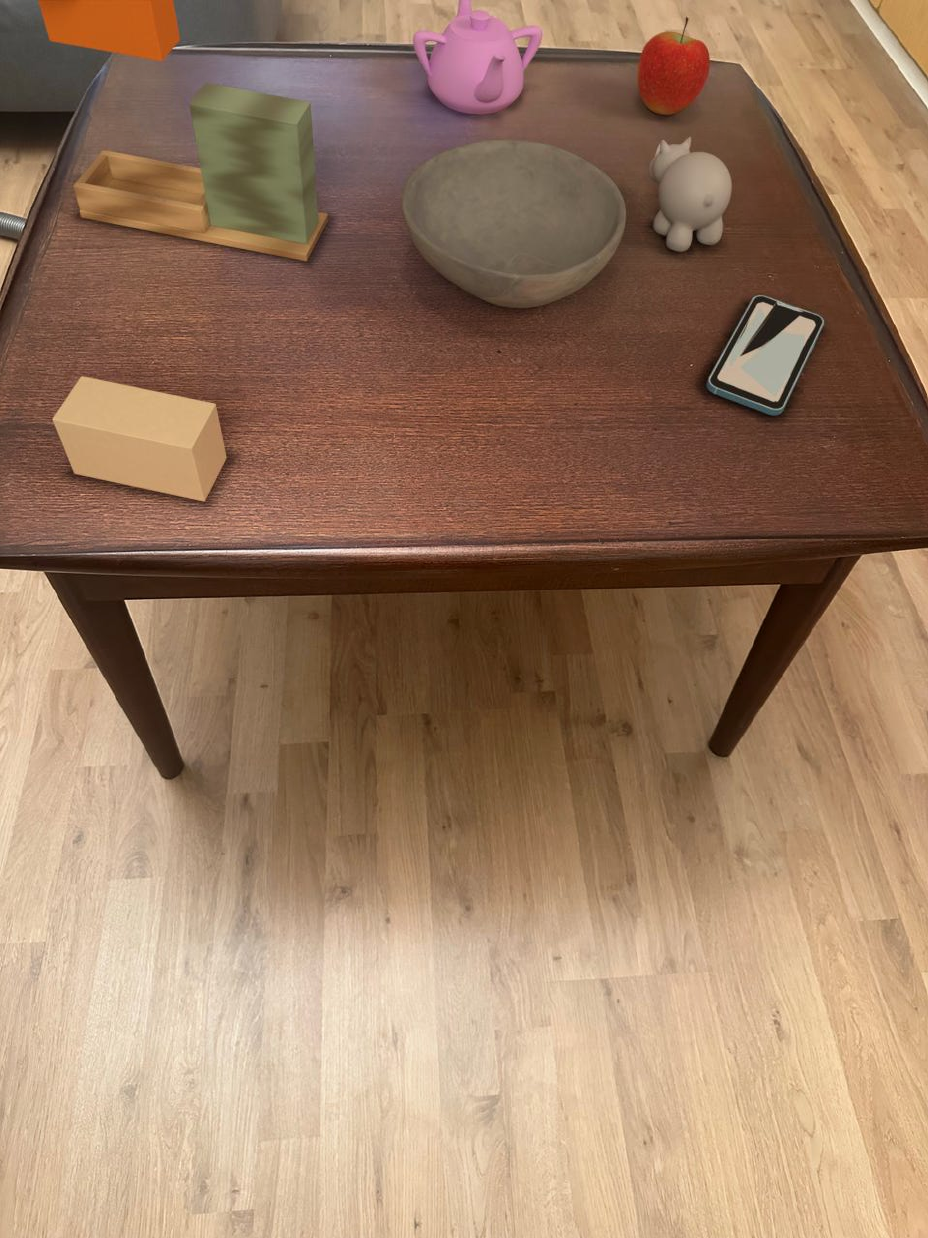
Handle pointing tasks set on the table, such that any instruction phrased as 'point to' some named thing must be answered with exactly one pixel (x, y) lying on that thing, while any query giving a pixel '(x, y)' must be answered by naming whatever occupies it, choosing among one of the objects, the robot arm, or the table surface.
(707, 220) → the round bodied animal figurine
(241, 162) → the pad holder
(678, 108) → the apple
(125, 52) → the orange rectangular block
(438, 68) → the teapot
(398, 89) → the table surface
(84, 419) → the pad riser
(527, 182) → the bowl
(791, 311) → the smartphone
